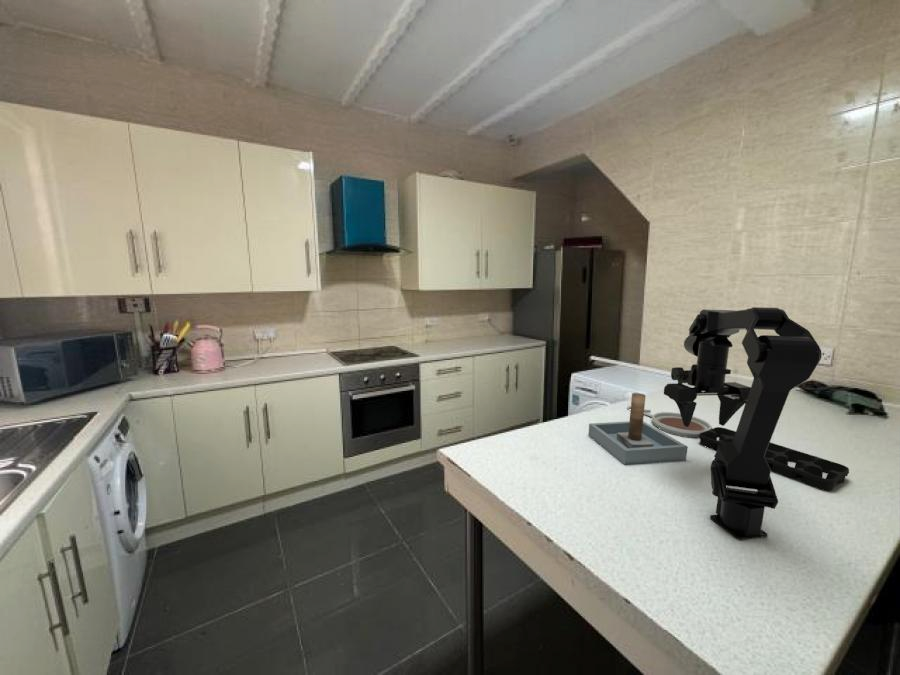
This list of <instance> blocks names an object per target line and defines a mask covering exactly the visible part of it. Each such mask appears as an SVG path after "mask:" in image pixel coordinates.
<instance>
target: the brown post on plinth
mask: <svg viewBox="0 0 900 675" xmlns="http://www.w3.org/2000/svg"><path fill="white" fill-rule="evenodd" d="M646 398H647V396H646V395H645V394H644V393H638V392H632V393H631V400H630V401H631V402H630V406H631V410H629V411H630V412H629V421H630V422H629V432H626V433H617V440H618V441H620V442H621V443H622V444H623V445H625V446H626V447H627V448H640V447H653V443H651V442H650V441H648V440H647V439H645V438H644V437H642V427H643V421H644V416H645V414H644V410H645V406H646Z"/></svg>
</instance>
